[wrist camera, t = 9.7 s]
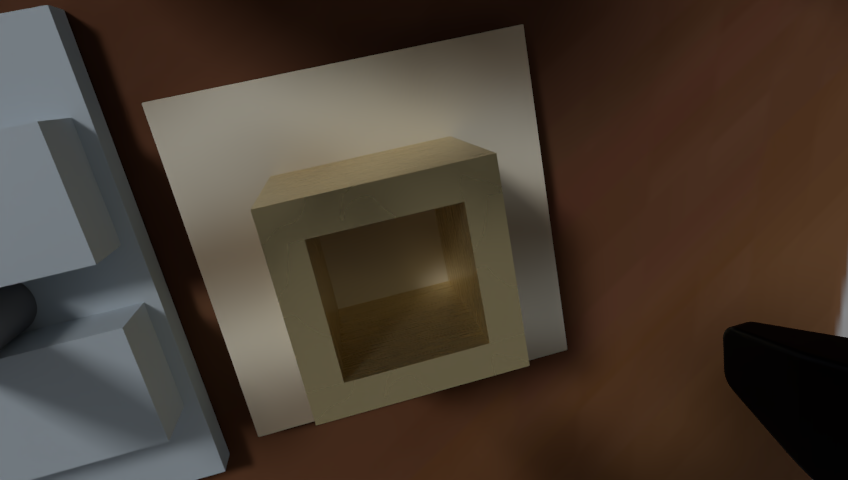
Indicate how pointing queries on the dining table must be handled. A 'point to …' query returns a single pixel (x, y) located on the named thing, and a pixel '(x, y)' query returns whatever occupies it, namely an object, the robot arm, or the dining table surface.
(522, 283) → the birch pad
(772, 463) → the dining table surface
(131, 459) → the vise
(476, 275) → the brass sleeve
